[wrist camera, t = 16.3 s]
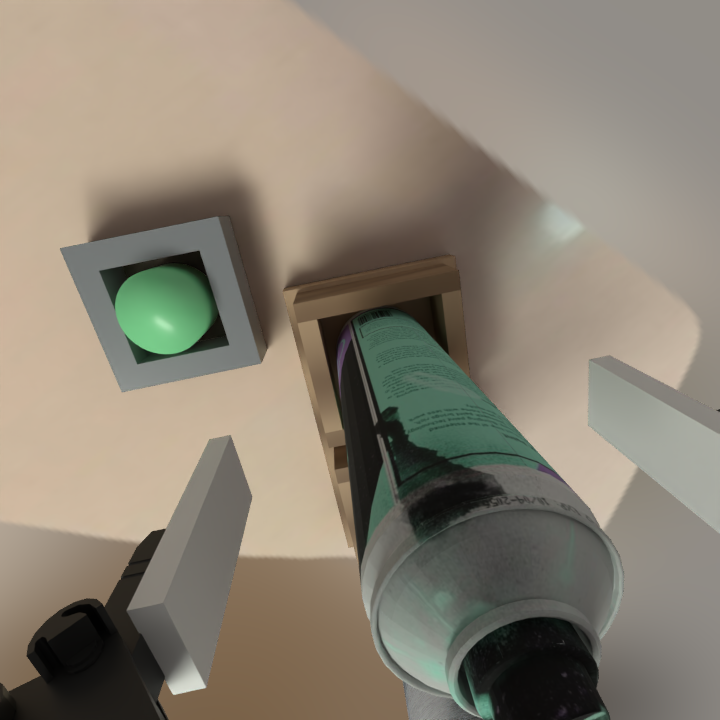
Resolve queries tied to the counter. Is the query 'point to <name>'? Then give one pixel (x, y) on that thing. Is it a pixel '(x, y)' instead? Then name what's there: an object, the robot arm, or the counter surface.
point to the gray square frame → (229, 286)
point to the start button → (166, 308)
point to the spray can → (468, 536)
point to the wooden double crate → (330, 313)
